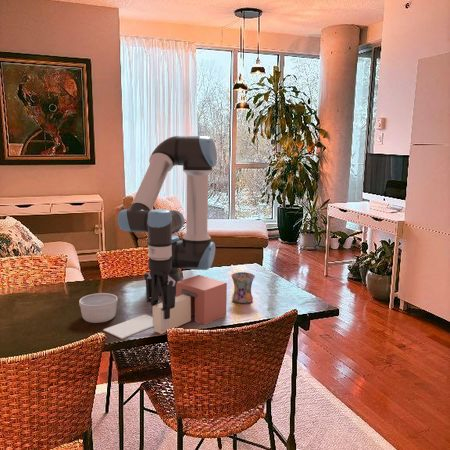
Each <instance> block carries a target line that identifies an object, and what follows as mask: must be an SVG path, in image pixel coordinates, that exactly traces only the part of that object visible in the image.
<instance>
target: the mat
mask: <svg viewBox="0 0 450 450" xmlns="http://www.w3.org/2000/svg"><path fill="white" fill-rule="evenodd" d="M152 328H154V325H153V316H152V315H151V316H150V315H148V314H143V315H139V316H136V317H134V318H131V319H128V320H126V321H123V322H120V323H117V324H114V325H112V326H109V327H106V328H103V331H104V332H106V333H108V334H110V335H112V336H115V337H117V338H118V339H120V340H123V339H126V338H128V337H131V336H133V335H136V334H138V333H141V332H143V331H146V330H148V329H152Z"/></svg>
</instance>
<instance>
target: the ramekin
mask: <svg viewBox="0 0 450 450" xmlns="http://www.w3.org/2000/svg"><path fill="white" fill-rule="evenodd" d="M78 305H79V307H80V312H81V317H82V318H83V320H84V321H85V322H87V323H92V324H96V323H97V324H98V323H99V324H100V323H105V322H109V321H110V320H111V321H112V319H114V318H115V316H116V314H117V307H118V296H117V295H115V294H112V293H108V292H107V293H106V292H98V293H92V294H88V295H85V296H82V297H81V298H80V299H79V301H78Z"/></svg>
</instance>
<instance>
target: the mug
mask: <svg viewBox="0 0 450 450" xmlns="http://www.w3.org/2000/svg"><path fill="white" fill-rule="evenodd" d="M230 277H231V279H232V281H233V285H234V287H233V288H234V289H233V295H232V298H231V299H232V301H233V302H234V303H238V304H248V303H250V302H252V301H254V297H253V295H252V285H253V281H254V279H255V277H256V276H255V274H253V273H251V272H245V271H240V272H239V271H238V272H234V273H232V274H231V276H230Z"/></svg>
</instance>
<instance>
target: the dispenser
mask: <svg viewBox="0 0 450 450" xmlns="http://www.w3.org/2000/svg"><path fill="white" fill-rule="evenodd" d="M227 290H228V283H227V282H226V281H223V280H219V279H215V278H211V277H208V276H204V275H201V274H198V275H194V276H191V277H188V278H184V279H181V281H178V282H177V284H176V295H175V297H178V296H180V295H183V294H184V295H187V296H190V297H191V316H193V315H194V322H195V323H198V324H201V325H203V326H205V325H207V324H209V323H212V322H214V321H216V320H219V319H221V318H223V317H225V316H227V299H228V296H227V295H228V294H227V293H228V292H227Z"/></svg>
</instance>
